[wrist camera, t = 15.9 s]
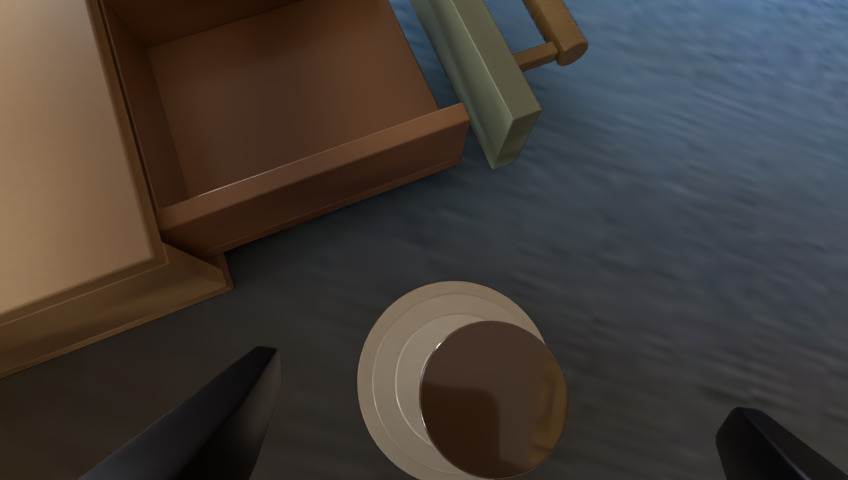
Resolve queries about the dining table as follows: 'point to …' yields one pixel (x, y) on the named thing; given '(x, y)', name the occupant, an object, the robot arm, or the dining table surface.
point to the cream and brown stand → (461, 385)
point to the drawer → (311, 104)
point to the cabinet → (76, 195)
